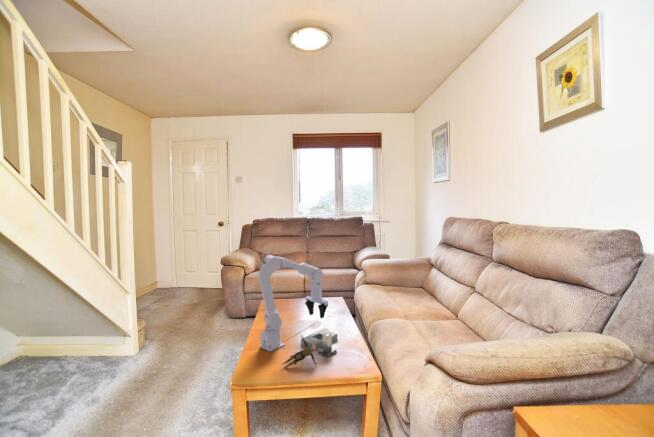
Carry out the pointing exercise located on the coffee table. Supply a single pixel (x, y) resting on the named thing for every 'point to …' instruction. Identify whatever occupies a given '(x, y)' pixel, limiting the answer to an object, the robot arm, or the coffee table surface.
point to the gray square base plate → (327, 354)
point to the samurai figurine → (301, 353)
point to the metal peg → (327, 342)
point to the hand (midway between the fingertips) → (316, 316)
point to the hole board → (317, 339)
